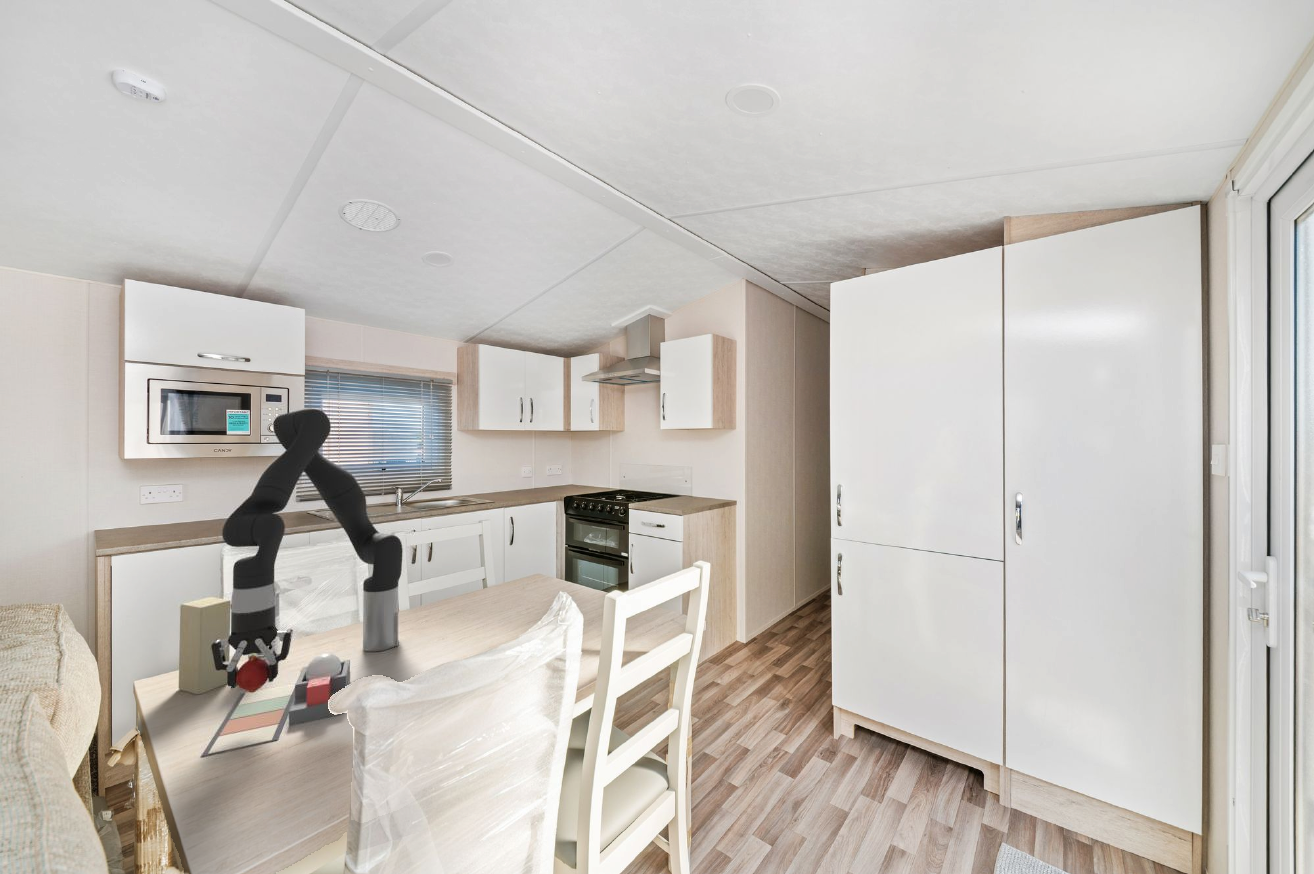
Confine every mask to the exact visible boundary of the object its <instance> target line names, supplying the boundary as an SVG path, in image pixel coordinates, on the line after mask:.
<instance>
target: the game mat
mask: <svg viewBox="0 0 1314 874" xmlns="http://www.w3.org/2000/svg"><path fill="white" fill-rule="evenodd" d="M295 684H296V683H293V684H287V685H286V684H285V685H280V686H276V687H271V688H264V689H258V690H257V691H255V692H253V693H250V692H248V691H247V692H242V693H240V694H239V696H238V697H237V699H236V701H235V702H234V703H233V705H232V706H231V708H230V710H229V712H228V713H227V715H226V716H225V718H224V719H223V721H222V723H221V724H220V726H219V727H218V728H217V730H216V732H215V733H214V735H213V737H212V738H211V740H210V741H209V742H208V745H207V746H206V748H205V749H204V750H203V752H202V753H201V755H200V758H203V757H207V756H208V757H210V756H212V755H218V754H221V753H222V754H223V753H226V752H230V751H236V750H240V749H244V748H249V747H254V746H258V745H262V744H268V743H272V742H276V741H278V740H279V737H280V735H281V733H282V731H283V728H284V726H285V723H286V721H287V719H288V717H289V710H290V708H291V706H292V703H293V701H294V698H295Z"/></svg>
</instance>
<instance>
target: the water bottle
mask: <svg viewBox="0 0 1314 874" xmlns="http://www.w3.org/2000/svg"><path fill="white" fill-rule="evenodd" d="M274 585H275V592H276V608H275V626H276V628H277V630H278V631H281V630H280V629H281V627H280V626H281V618H280V617H281V615H280V592H281V589H280V588H281V586H280V584H279V583H278V582H277V581H276V580H274ZM280 642H281V641H280V640H279V637H277V636H276V638H275V639H274V640H273V641H272V645H273V646H274V648H275V651H276V653H277V655H278V654H280V653H281V648H280V647H281V646H280ZM252 655H255V656H256V657H258V658H260V659H263V660H265V661H266V662H267V663H268V665H269V664H270V663H269V662H268V660H267V658H266V657H264V655H263V654H262V652H261V653H251V654H249V655H247V661H248V660H249V657H250V656H252Z"/></svg>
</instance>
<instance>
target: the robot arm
mask: <svg viewBox="0 0 1314 874" xmlns="http://www.w3.org/2000/svg"><path fill="white" fill-rule="evenodd" d="M331 425H332V423H331V421H330V418H329V417H328V415H327V414H326V412H325V411H323V410H321V409H320V408H316V407H309V408H303V409H299V410H298V409H297V410H295V411H291V412H287V413H283V414H281V415H280V414H279V415H278V416H277V417H275V418H274V420H273V424H272V427H273V432H274V435H275V436H276V439H277V440H278V442H279V444H281V447H283V448H284V449H285V451H284V452H283V453H282V454H281V455H280V456H278V457H277V458H276V459H275V461H272V463H271V464H270V465H269V466H268V467H267V468H266V469H265V470H264V471H263V473H262V474H261V476H260V477H259V478H258V481H257V483H256V484H255V487H254V488H253V491H252V492H251V494H250V496H249V497H247V498H246V499H245V500H244V501H243V502H242V503H241V504H240V505H239V506H238V507H237V508H236V509H235V510H234V511H233V512H232V513H231V514H230V515H229V517H227V519H226V520H225V523H224V525H223V526H222V531H221V532H222V533H221V535H222V539H223V541H224V543H225V544H226V545H227V546H230V547H235V548H245V547H258V550H257V552H256V554H255V555H251V556H246V557H242V558H240V559H238V560H236V561H235V563H234V564H233V568H232V570H233V571H232V580H233V581H232V594H231V600H230V601H231V607H230V637H229V638H226V639H222V640H221V639H217V640H216V641H215V642H214V643H213V644H212V645H211V648H212V653H213V658H214V663H215V668H216V670H218V671H219V670H226V671H227V684H226V685H227V686H228V687H230V689H236V688H237V687H238V685H237V683H236V674H237V672H238V670H239V667H238V666H237V665H238V664H239V662H240V660H241V657H242V656H248V655H249V654H251V653H261V652H262V654H263V655H264V657H266V658H267V660H268V662H269V663H270V664H269V677H268V680H267V681H268V683H271V682H274V680H275V679H277V676H278V675H279V662H281V661H284V660H285V661H286V659H287V657H288V655H289V652H290V648H291V642H292V637H293V633H294V630H293V629H292V628H289V629H287V630H280V631H278V630H277V628H276V626H275V608H276V592H275V585H274V581H275V565H276V560H277V556H278V553H279V549H280V546H281V543H282V540H283V538H284V535H285V529H286V525H285V522H284V520H283V518H282V517H281V516H280V515H279V514H277V513H280V512H281V511H283V510H284V509H285V508H286V506H287V505H288V503H289V500H290V499H291V496H292V494H293V492H294V490H295V487H296V485H297V483H298V481H299V479H300V477H301V476H302V474H303V473H304V474H305V475H306V476H307V478H308V479H309V480H310V481H311V483H312V484H313V486H314V488H315V489H316V491H317V492H318V494H319V495H320V497H321V499H322V500H323V501H324V503H325V505H326V506H327V508H328V509H329V510H330V512H331V513H332V514H333V516H334V517H335V518H336V520H337V522H338V523H339V524H340V526H341V527H342V529H343V530H344V531H345V533H346V535H347V537H348V538H349V541H350V543H351V544H352V547H353V549H354V551H355V553H356V554H357V556H358V557H359V559H360V560H361V561H362V562H363V563H365V564H368V565H372V575H371V576H369V577H366V579H364V580H363V583H362V585H363V588H362V597H363V598H362V648H363V650H364V651H366V652H380V651H385V650H388V649H391V648H394V646H395V647H398V646H399V581H400V578H401V575H402V569H403V568H402V567H403V544H402V541H401V539H400V538H399V537H398V536H396V535H394V534H388V533H380V532H379V531H378V530H377V529H376V527H375V526H374V524H373V523H372V522H371V520H370V518H369V516H368V511H367V498H366V494H365V492H364V490H363V489H362V487H361V486H360V484H359V482H358V481H357V479H356V478H355V477H354V475H353V474H352V473H350V472H349V471H348V470H347V469H345V468H343V467H342V466H340V465H338V464H336V463H334V462H332V461H331V460H329V459H328V458H326V457H325V456H323V454H321V453H320V452H319V450H320V449H321V447H322V446H323V445H324V443H325V442H326V441H327V439H328V437H329V435H330V433H331V429H332V428H331ZM276 636H277V637H279V641H280V642H282V644H281V648H280V653H279V654H278V655H277V653H276V651H275V648H274V646H273V645H272V641H273V640H274V639H275V638H276ZM228 643H229V644H230V647H232V648H233V649H234V650H235V652H234V654H233V655H232V657H231V659H230V660H229V662H227V661H226V657H225V652H224V649H225V648H226V647H227V644H228Z"/></svg>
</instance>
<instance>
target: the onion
mask: <svg viewBox="0 0 1314 874" xmlns="http://www.w3.org/2000/svg"><path fill="white" fill-rule="evenodd" d="M268 677H269V665H268V663H267V662H266V661H265V660H263V659H260V658H258V657H256V656H255V655H252V656H250V657H249V660H248V659H247V661H246V662H244V663H243V664H242V665H241V666H240V667H239V668H238V672H237V674H236V683H237V687H239V688H240V689H241V690H243V691H247V692H250V693H253V692H255V691H258V690H260V688H261V687H262V686H264V685H265V684H266V682H267V681H268Z"/></svg>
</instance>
